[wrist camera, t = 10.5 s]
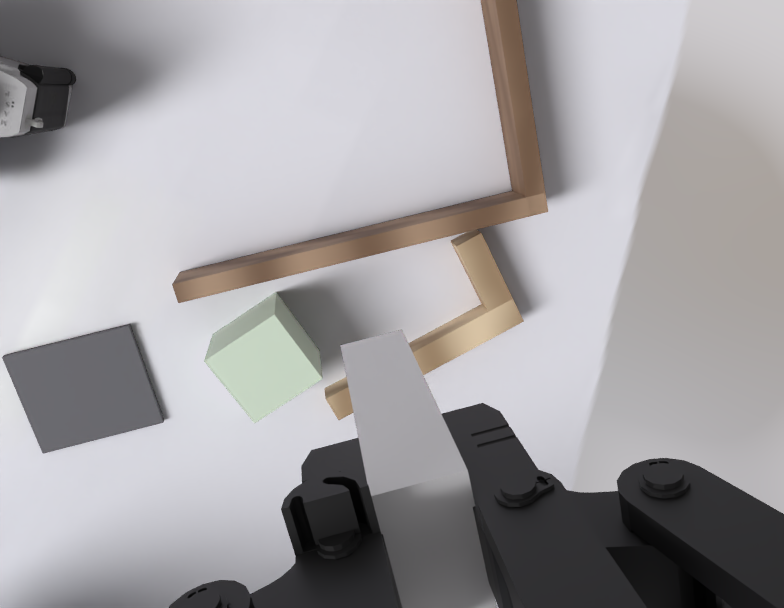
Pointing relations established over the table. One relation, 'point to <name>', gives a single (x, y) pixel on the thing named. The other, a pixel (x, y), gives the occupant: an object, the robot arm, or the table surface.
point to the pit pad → (84, 388)
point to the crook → (461, 331)
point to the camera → (33, 97)
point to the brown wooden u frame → (423, 226)
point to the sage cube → (264, 358)
